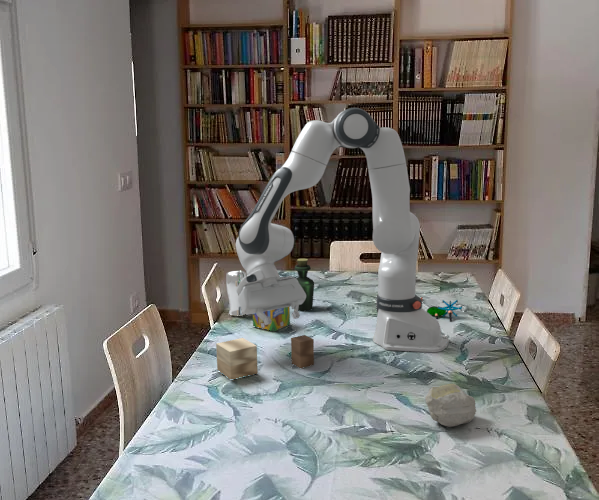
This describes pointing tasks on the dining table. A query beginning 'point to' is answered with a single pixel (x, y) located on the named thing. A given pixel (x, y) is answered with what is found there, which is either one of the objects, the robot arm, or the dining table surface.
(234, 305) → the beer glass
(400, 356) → the dining table surface
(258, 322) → the chalk box
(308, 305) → the potion bottle
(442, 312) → the stick construction toy
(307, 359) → the walnut block
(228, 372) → the pale wooden cube
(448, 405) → the fossil replica
